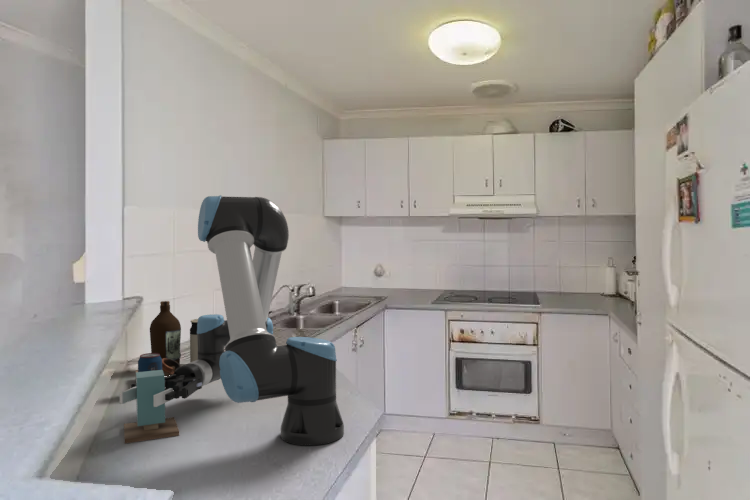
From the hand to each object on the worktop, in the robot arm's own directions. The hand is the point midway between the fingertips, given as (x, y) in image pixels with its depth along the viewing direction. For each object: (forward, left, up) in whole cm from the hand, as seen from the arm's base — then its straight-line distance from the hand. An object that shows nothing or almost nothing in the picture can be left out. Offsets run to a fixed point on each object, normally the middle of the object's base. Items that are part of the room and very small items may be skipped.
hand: (137, 399), depth 133 cm
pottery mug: (+56, -9, -9) cm, 57 cm away
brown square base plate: (+3, -3, -9) cm, 10 cm away
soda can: (+40, -5, -9) cm, 42 cm away
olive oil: (+71, -12, -9) cm, 73 cm away
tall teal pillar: (+4, -3, -6) cm, 8 cm away
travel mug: (+67, -24, -9) cm, 72 cm away
